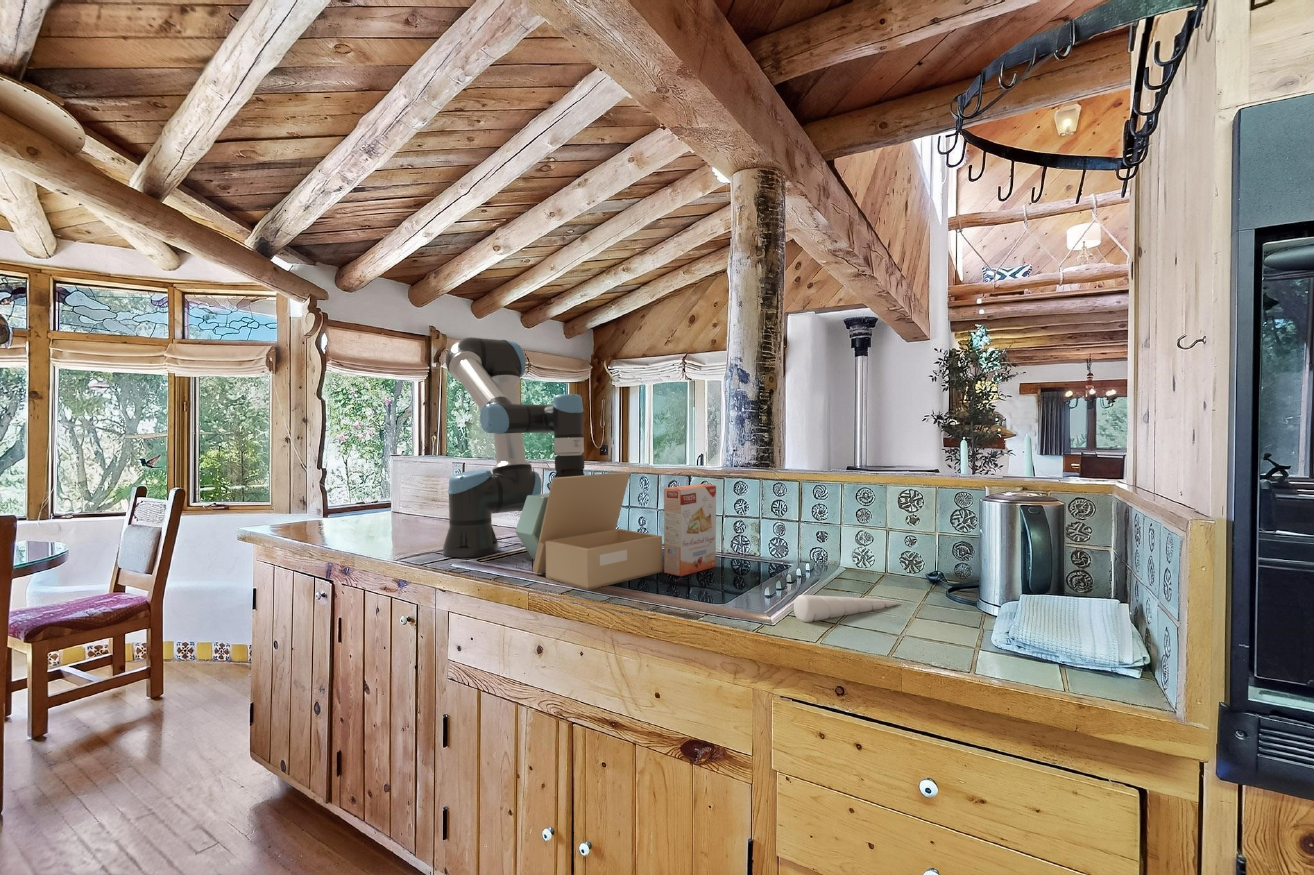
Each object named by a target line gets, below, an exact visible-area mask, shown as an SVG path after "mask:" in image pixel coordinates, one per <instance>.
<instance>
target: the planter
mask: <svg viewBox="0 0 1314 875" xmlns="http://www.w3.org/2000/svg"><path fill="white" fill-rule="evenodd" d="M548 497H549V492H547V493H541V494H537V495H528V496H527V498H526V501H525V504H524V507H523V510H522V511H521V514H520V516H519V518H518V523H517V526H516V528H515V531H514V532H515V534H516V535H517V537H518V539H519V540H520V542H521V543H522V544H523V546H524V549H526V551H527V553H528V554H529V556H530V558H531V559H533V560H535V556H536V551H537V547H538V542H539V538H540V533H541V529H542V524H543V519H544V515H545V510H546V506H547V501H548Z"/></svg>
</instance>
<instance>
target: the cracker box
mask: <svg viewBox="0 0 1314 875" xmlns="http://www.w3.org/2000/svg"><path fill="white" fill-rule="evenodd" d="M716 534H717V486H716V485H714V484H705V483H704V484H703V483H701V484H700V483H699V484H690V485H681V486H672V487H671V486H670V487H664V488H663V573H664V574H668V575H672V576H676V577H684V576H688V575H690V574H694V573H698V572H702V571H705V570H708V569H711V568H712V569H713V568H715V567H717V566H716V564H717V562H716V561H717V559H716V557H717V556H716V554H717V552H716V551H717V548H716V547H717V542H716V541H717V540H716V539H717V535H716Z"/></svg>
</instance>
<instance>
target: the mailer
mask: <svg viewBox="0 0 1314 875" xmlns="http://www.w3.org/2000/svg"><path fill="white" fill-rule="evenodd" d="M545 543H546V572H545V578H546V579H549V580H551V579H553V580H552V581H554V580H555V581H556V582H558V581H560V582H559V583H561V582H563V583H562V584H564V583H565V584H564V585H568V584H569V585H568V586H571V587H575V588H579V589H581V590H585V591H591V590H594V589H600V588H602V587H601V586H604V587H607V586H611V585H615V584H619V583H624V582H628V581H631V580H635V579H639V578H643V577H648V576H653V575H656V574H659V573H663V536H662V535H659V534H654V533H653V534H652V533H646V532H640V531H634V530H630V529H622V528H616V529H615V530H609V531H603V532H597V533H590V534H584V535H578V536H572V537H566V538H560V539H554V540H548V541H545ZM555 581H554V582H555ZM599 587H600V588H599Z"/></svg>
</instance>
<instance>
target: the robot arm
mask: <svg viewBox="0 0 1314 875" xmlns="http://www.w3.org/2000/svg"><path fill="white" fill-rule="evenodd" d="M526 362H527V360H526V356H525V352H524V350H523V349H522V347H521V345H519V344H518V343H517V342H515V341H513V340H512V341H511V340H507V339H495V338H493V339H492V338H491V339H490V338H479V337H465V338H462V339H461V338H460V339H459V340H457V341H455V343H453V344H452V345H451V346H450V347H449V349H448V350H447V353H446V355H445V366H446V369H447V371H448V372H449V374H450V376H451V377H452V378H453V379H454V380H456V381H459V382H460V383H461V384H462V386H463V387H464V389H465V390H466V391H467V393H468V394H469V395H470V397H471V398H472V400H473V401H474V403H475V404H476V405H477V406H478V408H479V409H480V414H479V422H480V424H481V428H482V431H483V432H485V433H487V434H493V443H494V451H495V459H496V460H495V461H496V464H495V465H494V466H493V468H492V472H491V470H490V469H478V470H474V469H473V470H468V471H463V472H459V473H456V474H454V475H452V476H451V477H450V478H449V481H448V491H447V494H448V511H449V512H448V516H449V517H448V520H449V522H448V523H449V524H448V526H449V527H448V530H447V533H446V537H445V539H444V544H443V546H442V554H443V556H445V557H450V558H475V557H477V558H478V557H483V556H488V555H492V554H495V553H497V552H498V551H499V542H498V538H497V536H496V534H495V530H494V528H493V523H492V516H493V515H494V514H502V513H503V514H504V513H511V512H512V513H513V512H517V513H519V512H522V510H523V507H524V504H525V501H526V498H527V496H528V495H537V494H542V489H543V488H542V480H541V479H542V478H541V477H540V474H539V473H538V472H537V471H535V470H532V464H531V463H530V462H528V461H527V460H526V455H525V454H526V452H525V445H524V437H523V434H552V433H554V434H553V446H554V448H553V450H554V451H553V452H554V454H555V455H556V456H554V470H555V475H554V478H558V477H570V476H583V475H585V473H584V469H585V456H584V455H583V453H585V444H584V443H585V441H584V439H585V437H584V433H585V432H584V406H583V405H584V404H583V398H582V396H581V395H580V394H576V393H569V394H568V393H564V394H563V393H562V394H555V395H554V397H553V400H552V404H525V403H523V404H520V403H519V396H518V390H517V386H518V384H519V383H520V382H521V378H522V377H523V376H524V374H525V372H526V366H527V363H526ZM551 483H552V481H551V482H548V483H547V484H546V487H547V489H548V490H549V492H550V488H551ZM492 514H493V515H492Z"/></svg>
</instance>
